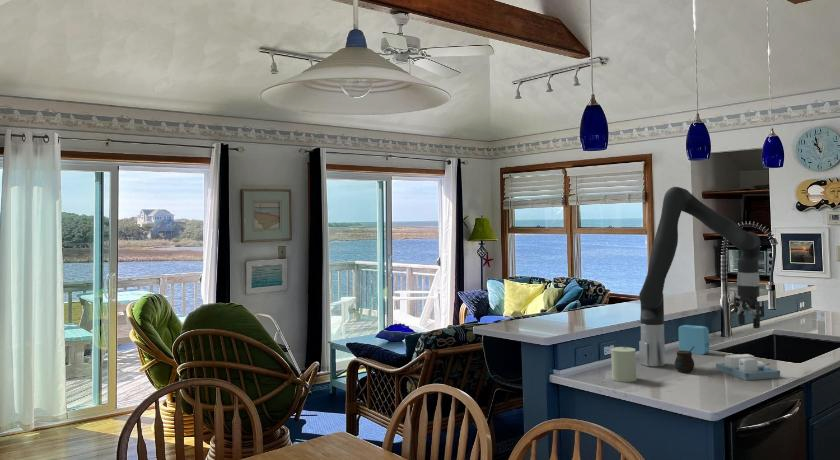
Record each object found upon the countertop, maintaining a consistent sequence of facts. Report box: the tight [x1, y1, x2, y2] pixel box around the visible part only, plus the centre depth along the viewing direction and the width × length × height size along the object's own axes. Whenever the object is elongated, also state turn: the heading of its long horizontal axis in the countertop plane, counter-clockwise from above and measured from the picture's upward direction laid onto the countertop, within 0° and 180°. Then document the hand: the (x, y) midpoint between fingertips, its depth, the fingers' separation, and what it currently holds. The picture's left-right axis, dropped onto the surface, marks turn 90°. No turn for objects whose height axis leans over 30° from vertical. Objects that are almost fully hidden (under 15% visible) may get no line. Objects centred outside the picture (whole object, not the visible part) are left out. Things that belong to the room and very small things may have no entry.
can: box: [610, 346, 637, 383], centre depth 243 cm, size 9×9×12 cm
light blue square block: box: [678, 324, 710, 356], centre depth 286 cm, size 12×4×12 cm, turn 41°
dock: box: [715, 353, 781, 381], centre depth 245 cm, size 14×18×6 cm
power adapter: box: [739, 357, 771, 373], centre depth 241 cm, size 11×5×6 cm, turn 103°
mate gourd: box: [674, 346, 695, 374], centre depth 252 cm, size 7×8×10 cm
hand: (748, 326), depth 242 cm, fingers open, 8 cm apart
